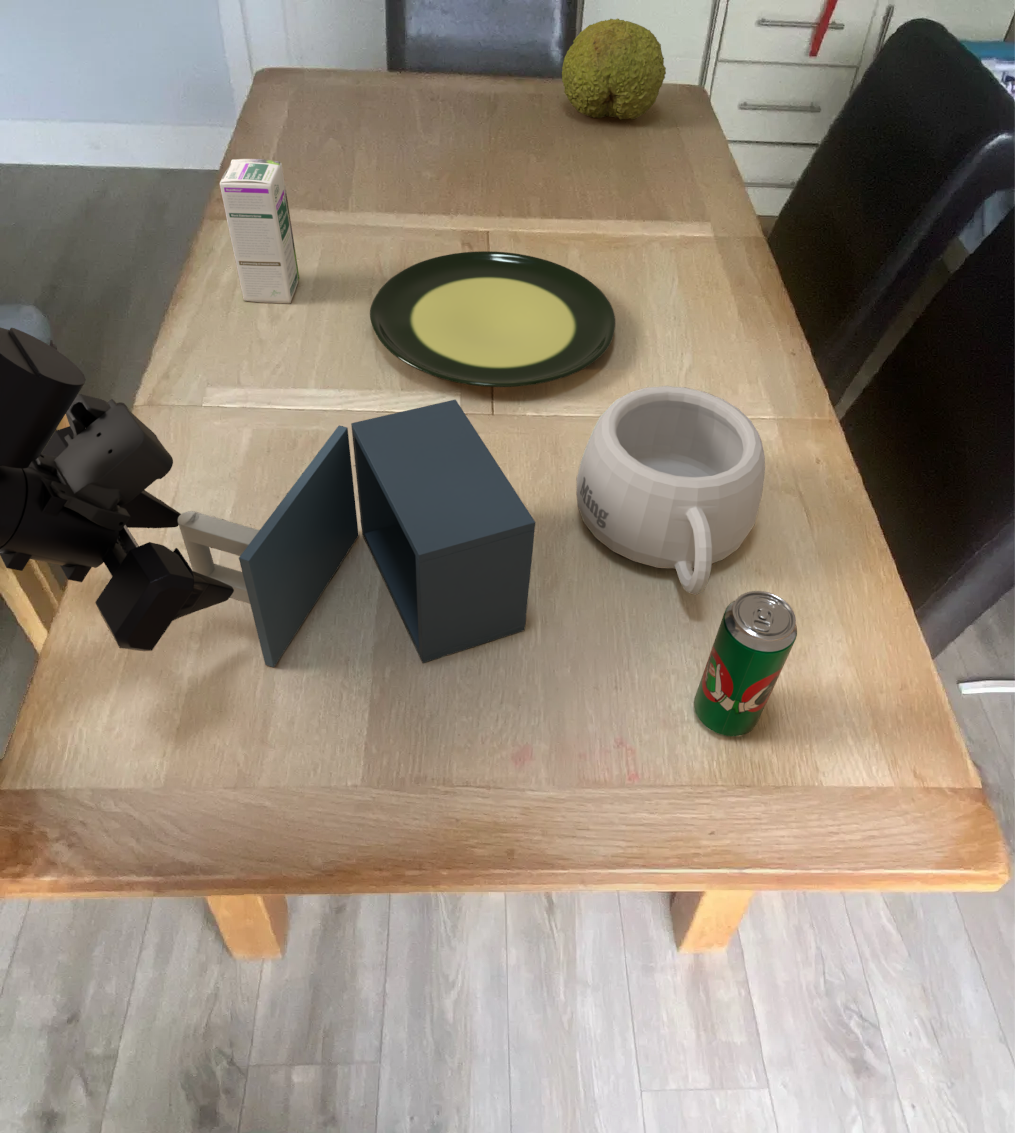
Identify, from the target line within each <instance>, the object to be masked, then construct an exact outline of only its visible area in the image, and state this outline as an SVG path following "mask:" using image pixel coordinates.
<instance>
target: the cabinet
mask: <svg viewBox="0 0 1015 1133" xmlns="http://www.w3.org/2000/svg"><path fill="white" fill-rule="evenodd" d="M350 425H351V426H350V427H351V433H352V434H351V436H352V437H351V438H352V447H353V456H354V467H355V477H356V485H357V486H356V487H357V496H358V497H357V498H358V506H359V514H360V515H359V517H360V527H361V535H362V537H363V539H364V541H365V543H366V546H367V547H368V549H369V552H370V554H371V556H372V558H373V560H374V562H375V565H376V567H377V569H378V571H379V574H380V575H381V577H382V579H383V581H384V584H385V586H386V588H387V590H388V593H389V594H390V597H391V599H392V601H393V603H394V605H395V607H396V610H397V611H398V614H399V616H400V618H401V620H402V622H403V625H404V627H405V628H406V631H407V633H408V635H409V637H410V640H411V641H412V644H413V646H414V648H415V650H416V652H417V655H418V657H419V658H420V660H421V662H422V664H425V663H427V662H428V663H429V662H431V661H434V660H437V659H440V658H444V657H446V656H450V655H453V654H456V653H458V652H463V651H465V650H468V649H472V648H474V647H477V646H480V645H481V646H482V645H485V644H487V643H490V642H493V641H496V640H499V639H502V638H506V637H508V636H513V635H515V634H518V633H522V632H524V631H525V630H526V621H527V612H528V601H529V594H530V583H531V574H532V573H531V571H532V561H533V553H534V552H533V551H534V541H535V531H536V521H535V519H534V518H533V516H532V514H531V513H530V511H529V510H528V508H527V507H526V505H525V504H524V502H523V500H522V499H521V498H520V496H519V495H518V493H517V492H516V490H515V488H514V486H513V485H512V483H511V482H510V481H509V479H508V478H507V476H506V474H505V473H504V472H503V469H502V468H501V467H500V465H499V463H498V462H497V461H496V458H494V456H493V455H492V453H491V452H490V450H489V448H488V446H487V445H486V444H485V442H484V441H483V439H482V438H481V436H480V434H479V433H478V432H477V430H476V428H475V427H474V425H473V424H472V422H471V421H470V419H469V417H468V416H467V414H466V413H465V411H464V410H463V409H462V407H461V405H460V404H459V402H458V401H457V399H451V400H447V401H446V400H445V401H442V402H438V403H433V404H429V405H425V406H420V407H416V408H412V409H411V408H410V409H408V410H403V411H398V412H395V413H394V412H393V413H390V414H385V415H381V416H376V417H371V418H368V419H364V420H363V419H362V420H359V421H354V422H351V423H350Z"/></svg>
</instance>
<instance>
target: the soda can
mask: <svg viewBox="0 0 1015 1133" xmlns="http://www.w3.org/2000/svg"><path fill="white" fill-rule="evenodd" d="M796 617H797V616H796V614H795V611H794V610H793V608H792V606H791V605H790V604H789V603H788V602H787V601H786V600H784V599H783V598H782V597H780V596H779V595H776V594H774V593H772V592H768V591H764V590H749V591H746V592H743V593H741V594H740V595H739V596H738V597H736V598H735V599H734V600H733V601H732V602H730V603H729V604H728V605H727V606H726V607H725V610H724V612H723V615H722V618H721V621H720V624H719V627H718V629H717V632H716V634H715V635H716V636H715V638H714V641H713V643H712V646H711V650H710V652H709V655H708V658H707V661H706V664H705V666H704V669H703V672H702V675H701V678H700V681H699V684H698V687H697V689H696V693H695V695H694V698H693V709H694V713H695V714H696V717H697V718H698V720H699V721H700V722H701V723H702V724H703V725H704V726H705V728H707V729H709V731H711V732H713V733H716V734H719V735H720V736H725V737H741V736H745V735H747V734H749V733H750V732H751V731H753V730H754V729H755V728H756V726H758V723H759V721H760V719H761V716H762V715H763V712H764V710H765V708H766V706H767V703H768V701H769V700H770V697H771V694H772V692H773V691H774V688H775V686H776V684H777V681H778V680H779V677H780V675H781V673H782V671H783V669H784V667H785V665H786V661H787V659H788V657H789V655H790V653H791V650H792V649H793V647H794V645H795V642H796V640H797V637H798V627H797V618H796Z"/></svg>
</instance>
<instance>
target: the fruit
mask: <svg viewBox="0 0 1015 1133" xmlns="http://www.w3.org/2000/svg"><path fill="white" fill-rule="evenodd" d="M664 60H665V57H664V55H663V51H662V44H661V43H660V42H659V41H658V39H657V36H655V34H654V33H653V32H652V31H651V29H647V27H645V26H643V25H641V24H638V23H634V22H633V21H629V20H625V19H620V18H618V17H617V18H615V19H614V18H610V19H604V20H600V21H597V22H595V23H593V24H589V25H588V26H586V27H585V28H584V29H583V30H581V31H580V32H579V33H578V35H577V36H575V38H574V39H573V41H572V44H571V45H570V46H569V48H568V50H567V51H566V54H565V56H564V58H563V62H562V67H561V69H562V71H561V82H562V83H563V87H564V91H563V93H564V94H565V96H566V97H567V100H568V101H569V103H570V104H571V106H572V107H573V108H575V110H576V111H577V112H578V113H580V114H581V115H585V116H588V117H590V118H594V119H595V118H596V119H602V118H605V117H613V118H618V119H619V121H620V120H628V119H629V120H630V119H631V120H636V119H637V118H639V117H641V116H643V115H646V114H647V111H648V110H650V109H651V107H652V106H653V105H654V104H655V103H656V101H657V98H658V96H659V93H660V90H661V88H662V87H663V86H662V85H663V84H664V80H665V79H666V74H667V72H666V70H667V67H665V64H664V63H665V61H664Z"/></svg>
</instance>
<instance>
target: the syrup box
mask: <svg viewBox="0 0 1015 1133" xmlns="http://www.w3.org/2000/svg"><path fill="white" fill-rule="evenodd" d="M284 174H285V173H284V167H283V163H282V162H281V161H278V160H271V159H263V158H262V159H261V158H238V159H233V158H232V159H231V161H230V163H229V166H228V167H227V168H226V170H225V172H224V173H223V175H222V177H221V180H220V181H219V184H218V185H219V187H220V191H221V197H222V203H223V207H224V212H225V216H226V217H225V218H226V221H227V228H228V232H229V236H230V241H231V248H232V251H233V256H234V261H235V265H236V270H237V276H238V281H239V284H240V290H241V294H242V299H243V301H245V302H252V303H266V304H291V303H292V300H293V298H294V295H295V292H296V290H297V286H298V284H299V280H300V273H299V266H298V260H297V253H296V247H295V241H294V233H293V226H292V220H291V213H290V208H289V202H288V194H287V187H286V182H285V181H286V180H285V175H284Z"/></svg>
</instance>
